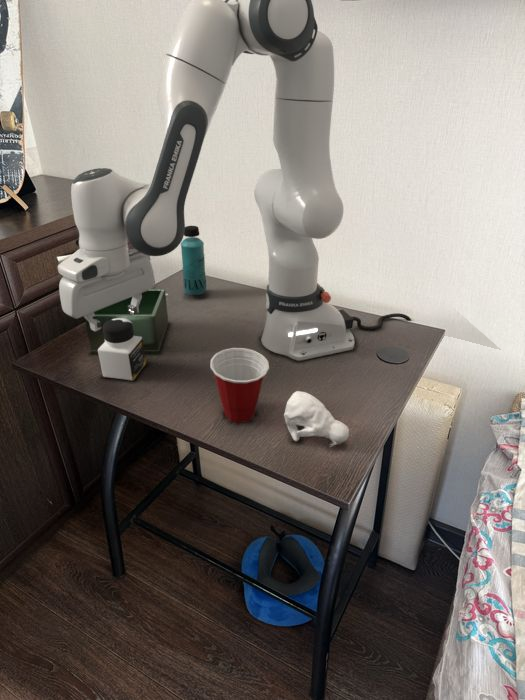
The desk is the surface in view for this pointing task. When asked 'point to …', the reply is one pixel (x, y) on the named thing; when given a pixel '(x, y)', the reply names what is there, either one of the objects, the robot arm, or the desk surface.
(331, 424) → the white figurine
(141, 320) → the green open box
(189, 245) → the beverage bottle
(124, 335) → the medicine bottle
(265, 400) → the desk surface
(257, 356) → the plastic cup
